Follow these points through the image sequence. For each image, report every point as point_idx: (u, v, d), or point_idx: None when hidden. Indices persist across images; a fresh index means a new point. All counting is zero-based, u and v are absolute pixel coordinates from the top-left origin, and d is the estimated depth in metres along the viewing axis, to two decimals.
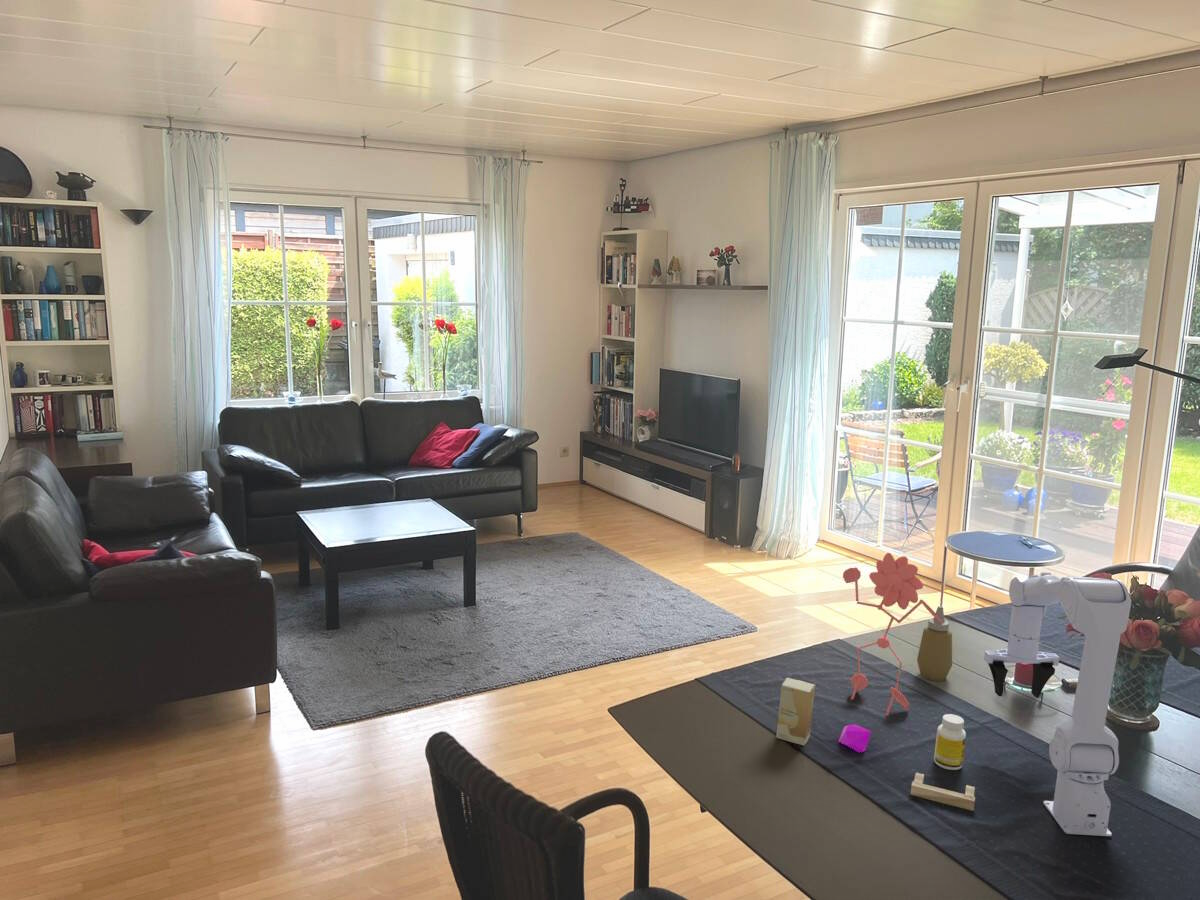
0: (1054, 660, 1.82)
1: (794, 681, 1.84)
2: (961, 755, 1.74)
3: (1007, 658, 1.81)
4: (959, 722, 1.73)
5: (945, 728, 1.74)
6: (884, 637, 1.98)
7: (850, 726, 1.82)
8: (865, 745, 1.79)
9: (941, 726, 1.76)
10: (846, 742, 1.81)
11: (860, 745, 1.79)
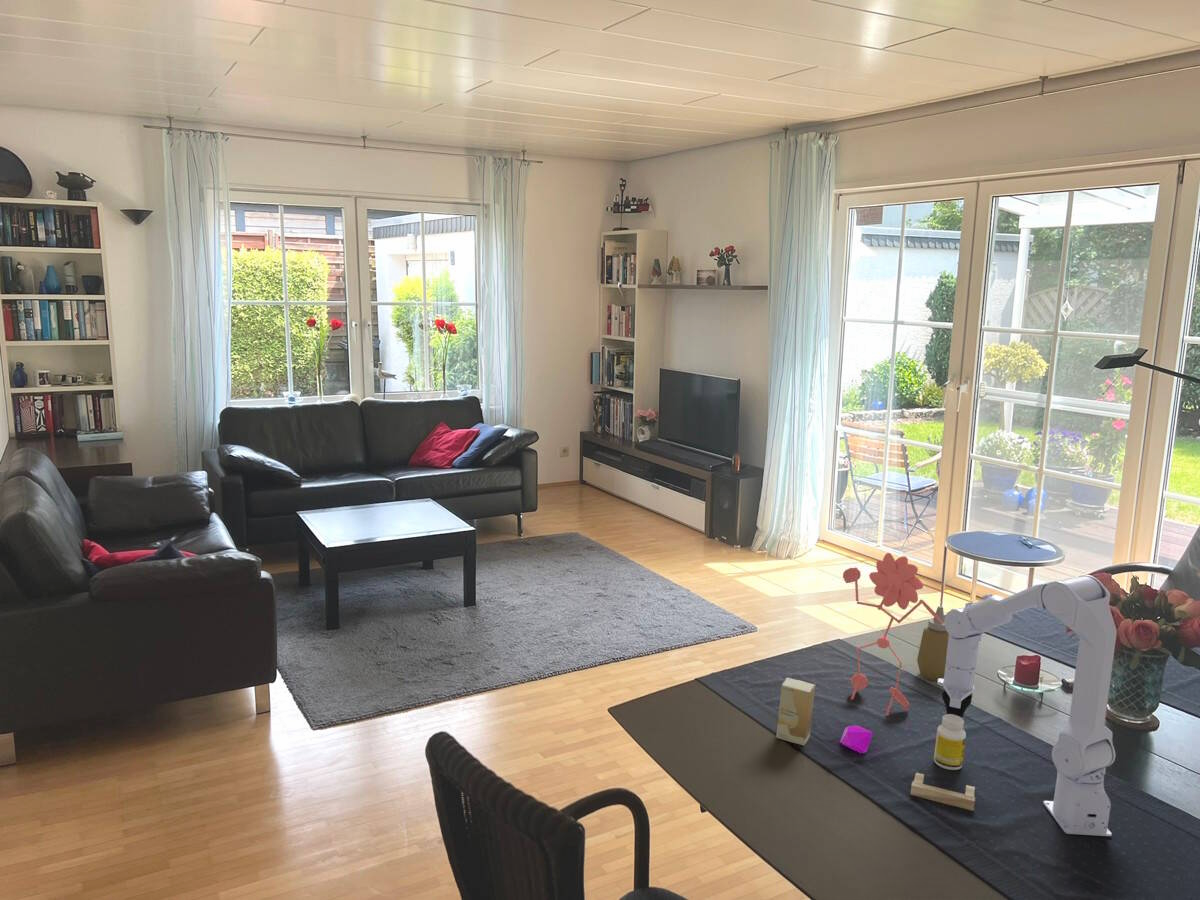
0: None
1: (794, 681, 1.84)
2: (961, 755, 1.74)
3: (966, 695, 1.76)
4: (959, 722, 1.73)
5: (945, 728, 1.74)
6: (884, 637, 1.98)
7: (851, 727, 1.81)
8: (866, 746, 1.79)
9: (941, 726, 1.76)
10: (847, 743, 1.80)
11: (861, 746, 1.79)
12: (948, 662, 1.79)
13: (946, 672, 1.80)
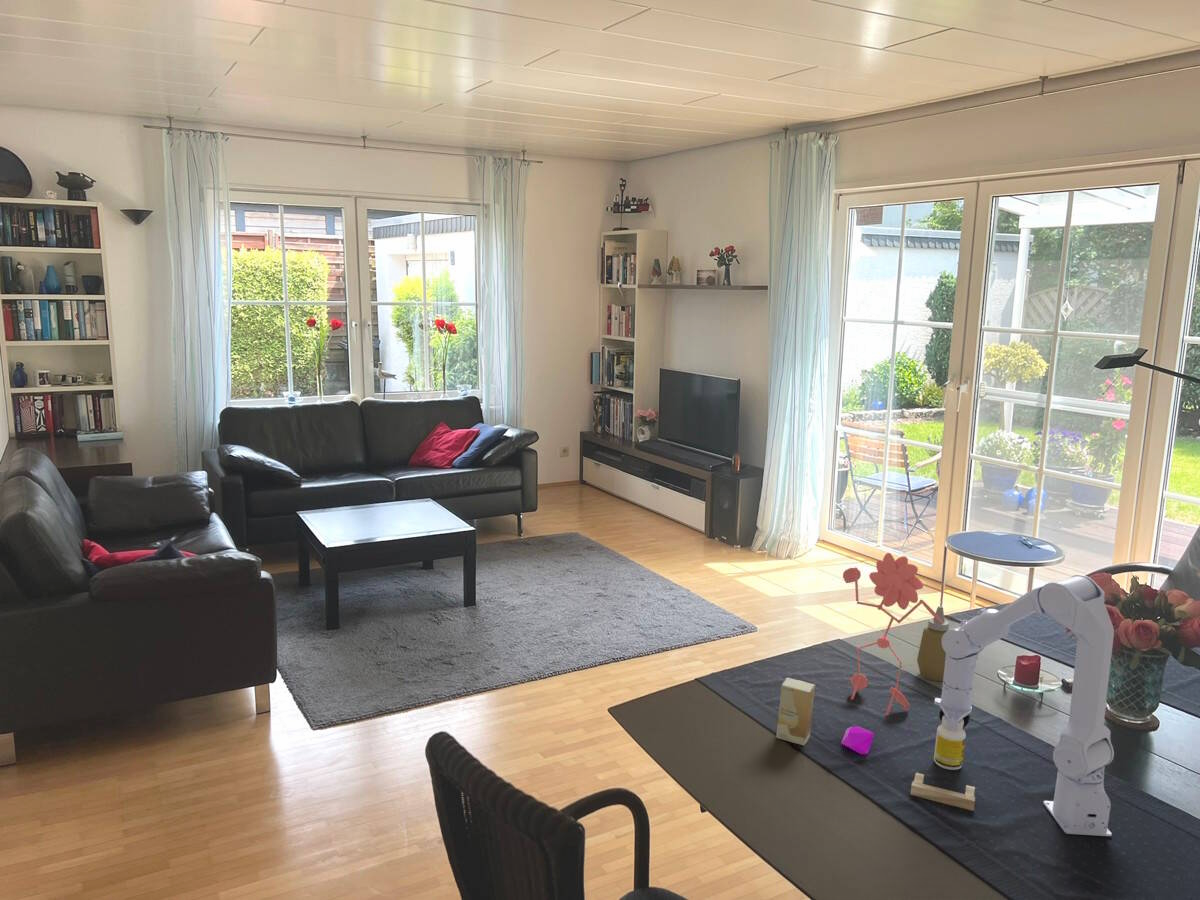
0: None
1: (794, 681, 1.84)
2: (961, 755, 1.74)
3: (964, 715, 1.74)
4: (959, 723, 1.73)
5: (945, 728, 1.74)
6: (884, 637, 1.98)
7: (853, 728, 1.81)
8: (868, 747, 1.79)
9: (941, 726, 1.76)
10: (849, 744, 1.80)
11: (863, 747, 1.79)
12: (946, 682, 1.77)
13: (943, 692, 1.78)
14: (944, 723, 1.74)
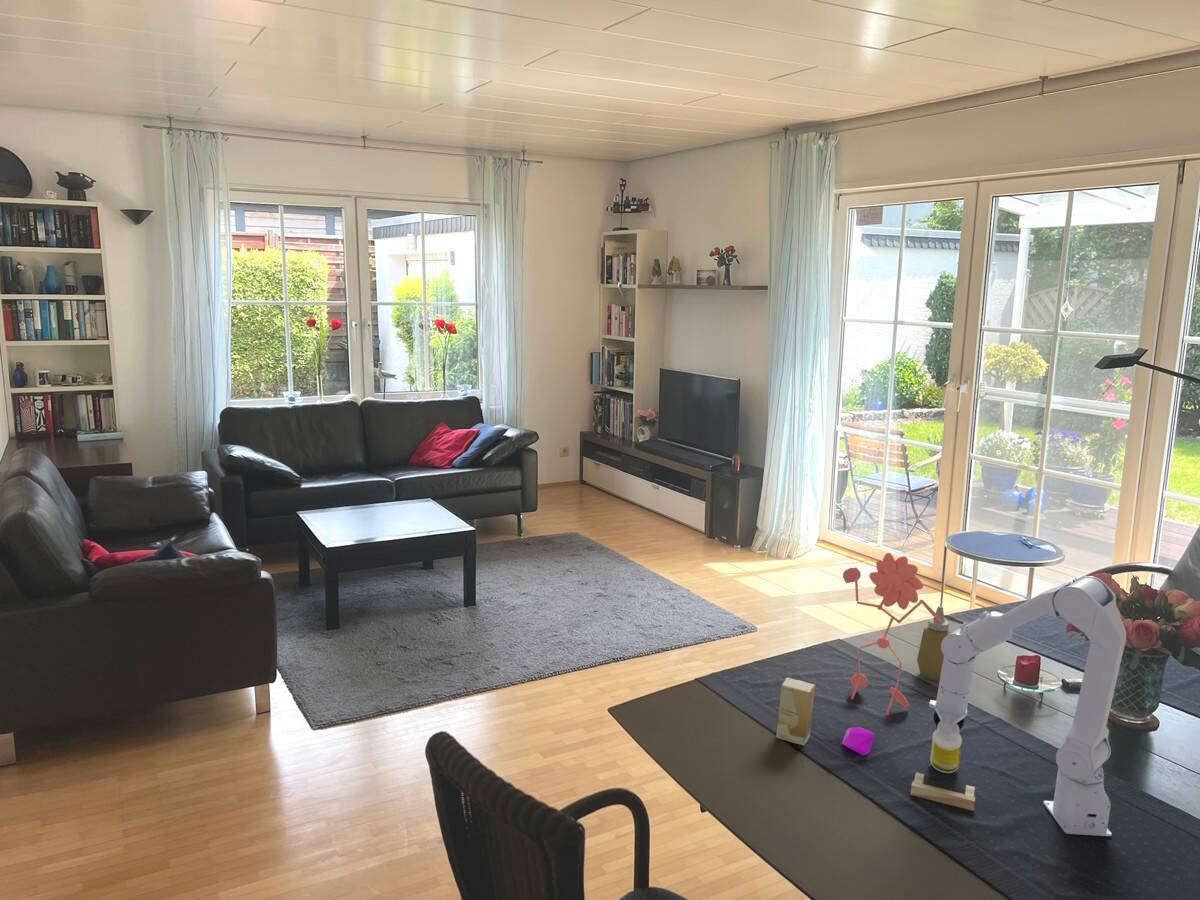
0: None
1: (794, 681, 1.84)
2: (958, 759, 1.72)
3: (959, 719, 1.71)
4: (956, 732, 1.69)
5: (941, 738, 1.71)
6: (884, 637, 1.98)
7: (853, 728, 1.81)
8: (869, 747, 1.78)
9: (936, 734, 1.72)
10: (850, 744, 1.80)
11: (863, 748, 1.78)
12: (944, 687, 1.72)
13: (939, 695, 1.74)
14: (940, 733, 1.70)
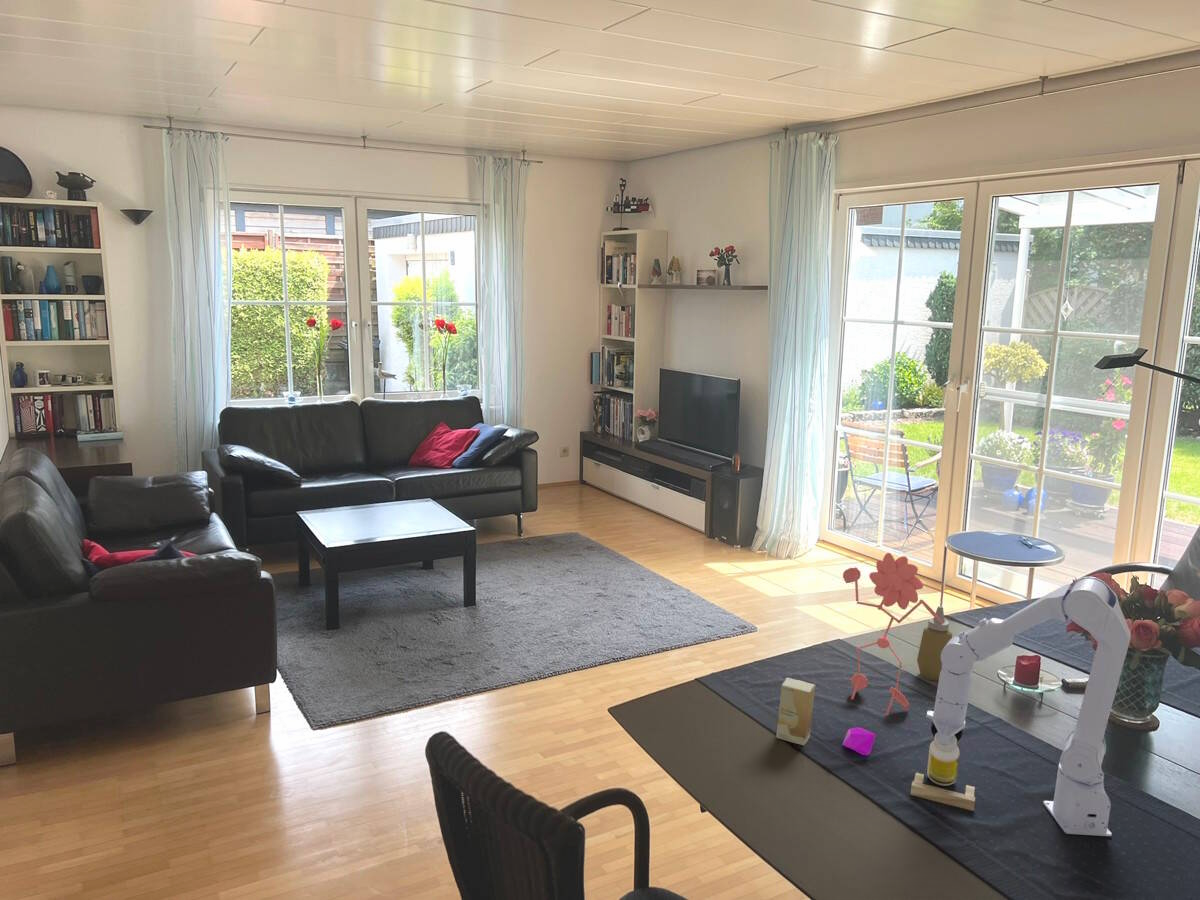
0: None
1: (794, 681, 1.84)
2: (955, 771, 1.67)
3: (957, 731, 1.66)
4: (953, 743, 1.65)
5: (938, 749, 1.67)
6: (884, 637, 1.98)
7: (854, 729, 1.81)
8: (870, 748, 1.78)
9: (933, 745, 1.68)
10: (850, 745, 1.79)
11: (864, 748, 1.78)
12: (944, 698, 1.68)
13: (936, 705, 1.70)
14: (937, 744, 1.66)
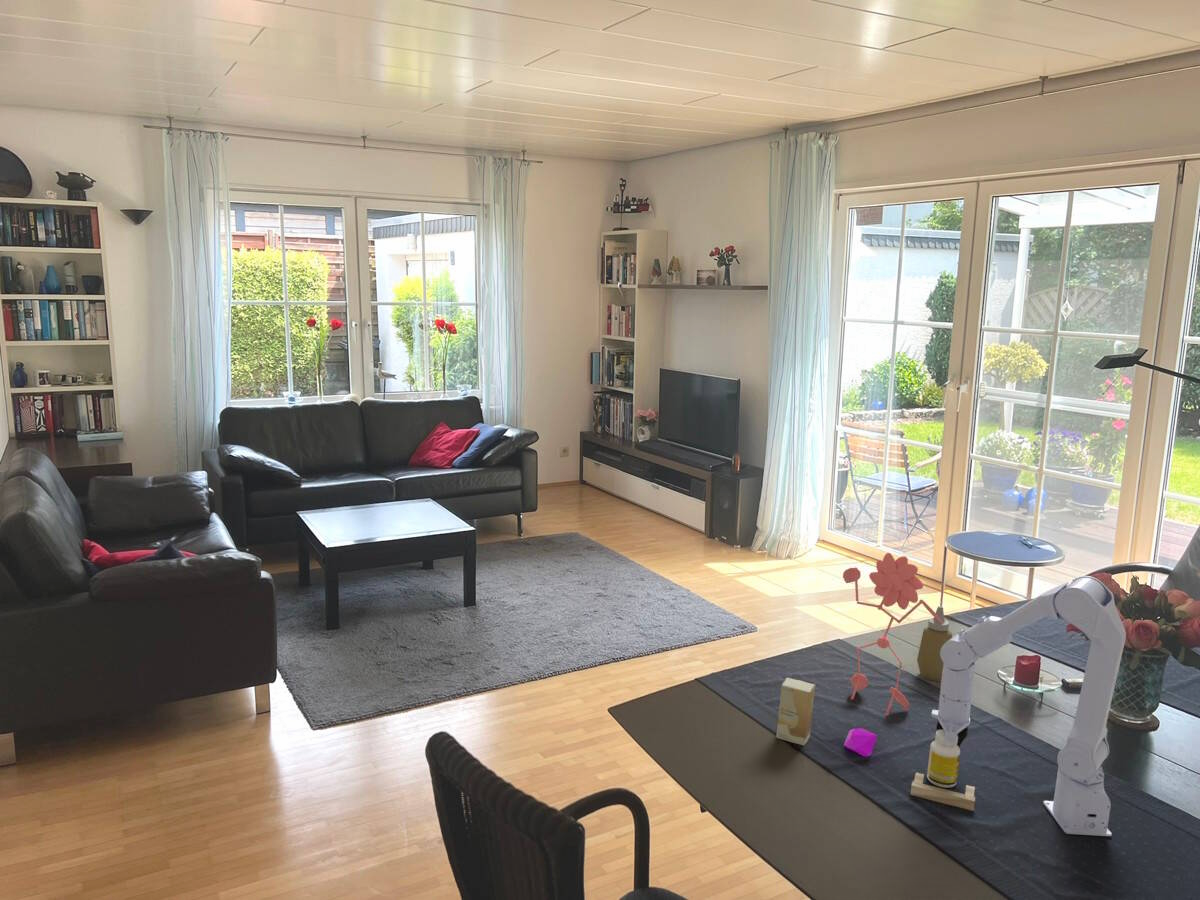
0: None
1: (794, 681, 1.84)
2: (956, 772, 1.68)
3: (962, 728, 1.69)
4: None
5: (939, 745, 1.68)
6: (884, 637, 1.98)
7: (856, 730, 1.80)
8: (871, 749, 1.78)
9: (934, 742, 1.69)
10: (852, 746, 1.79)
11: (866, 749, 1.78)
12: (946, 695, 1.70)
13: (940, 704, 1.72)
14: (938, 739, 1.68)
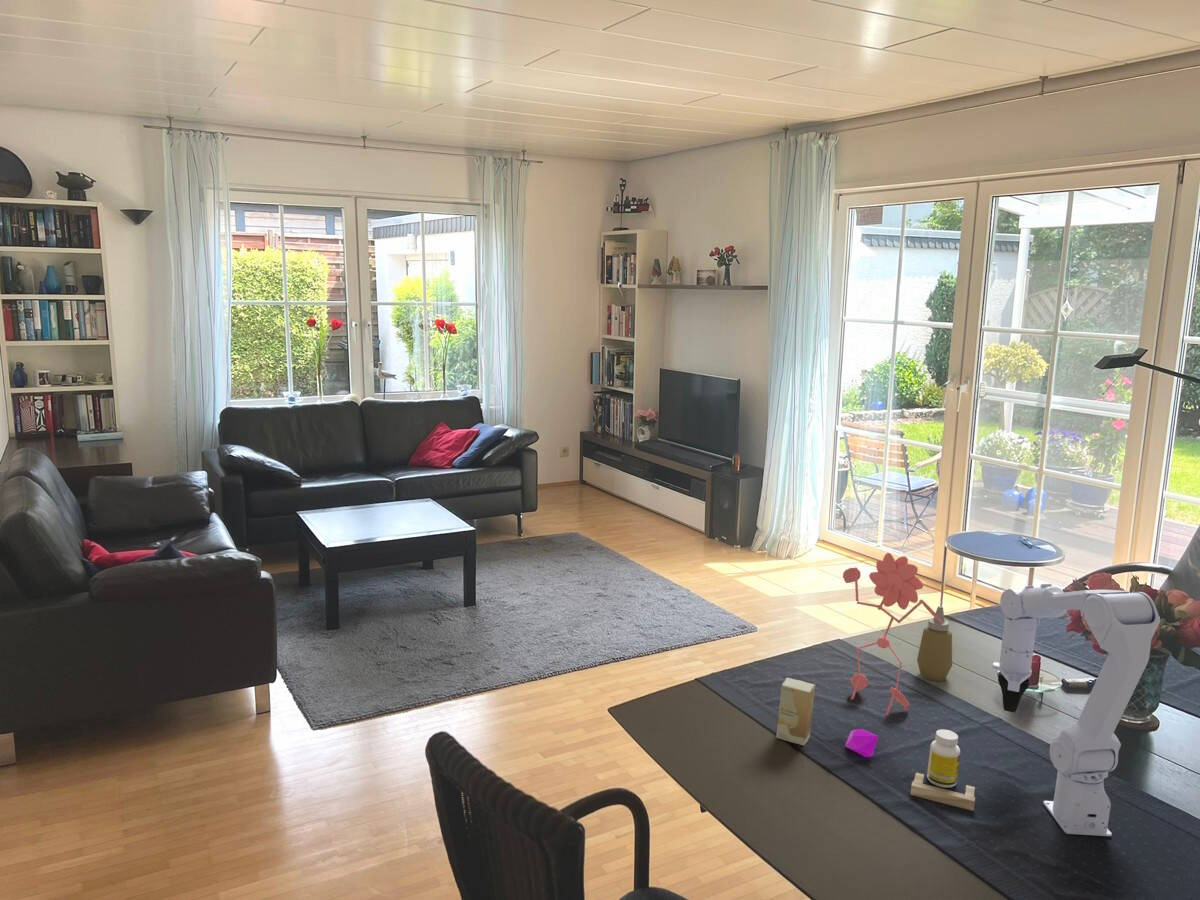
0: None
1: (794, 681, 1.84)
2: (956, 772, 1.68)
3: (1025, 678, 1.72)
4: (954, 738, 1.67)
5: (939, 745, 1.68)
6: (884, 637, 1.98)
7: (857, 731, 1.80)
8: (872, 750, 1.78)
9: (934, 742, 1.69)
10: (853, 747, 1.79)
11: (867, 750, 1.77)
12: (1002, 643, 1.75)
13: (1002, 655, 1.75)
14: (938, 739, 1.68)
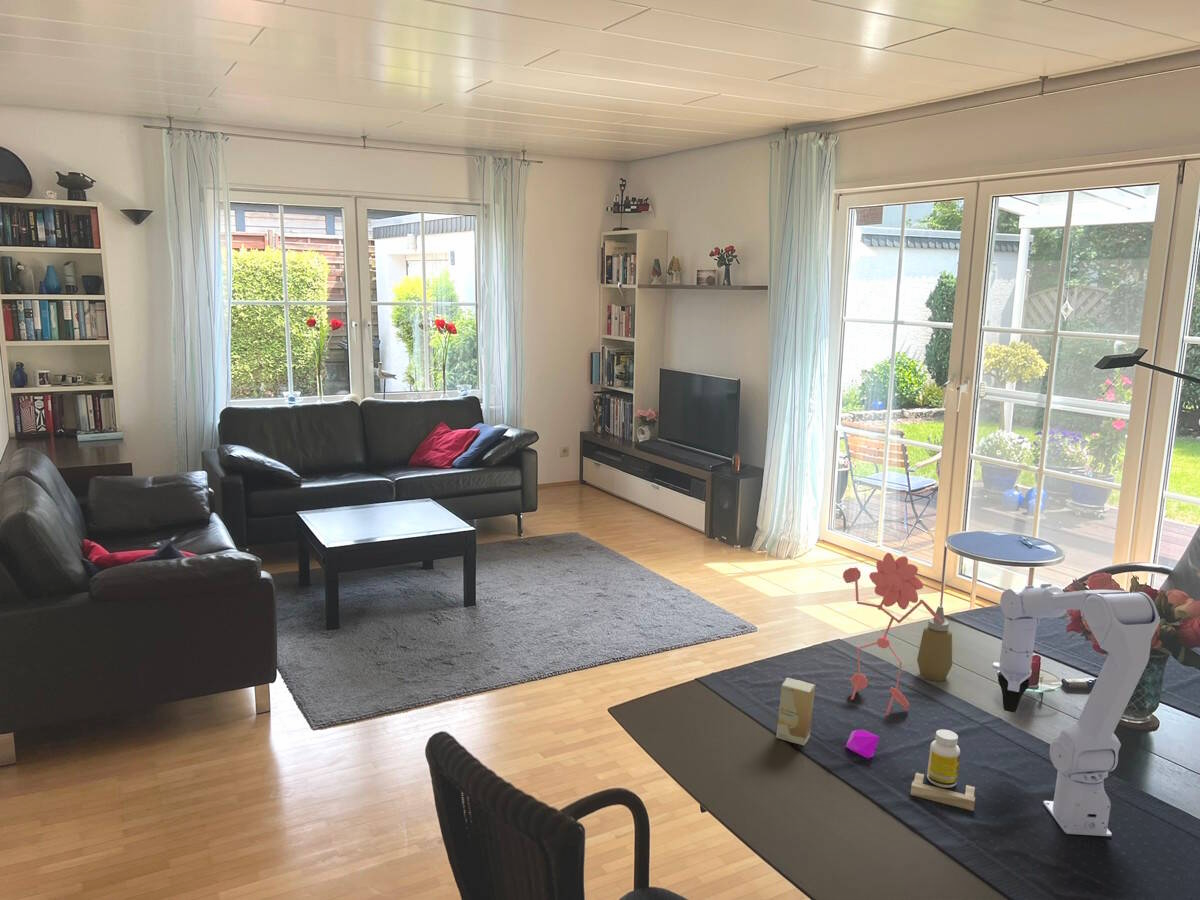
0: None
1: (794, 681, 1.84)
2: (956, 772, 1.68)
3: (1025, 678, 1.72)
4: (954, 738, 1.67)
5: (939, 744, 1.68)
6: (884, 637, 1.98)
7: (858, 731, 1.80)
8: (873, 750, 1.77)
9: (934, 742, 1.69)
10: (854, 747, 1.78)
11: (868, 751, 1.77)
12: (1002, 643, 1.75)
13: (1002, 655, 1.75)
14: (938, 739, 1.68)
